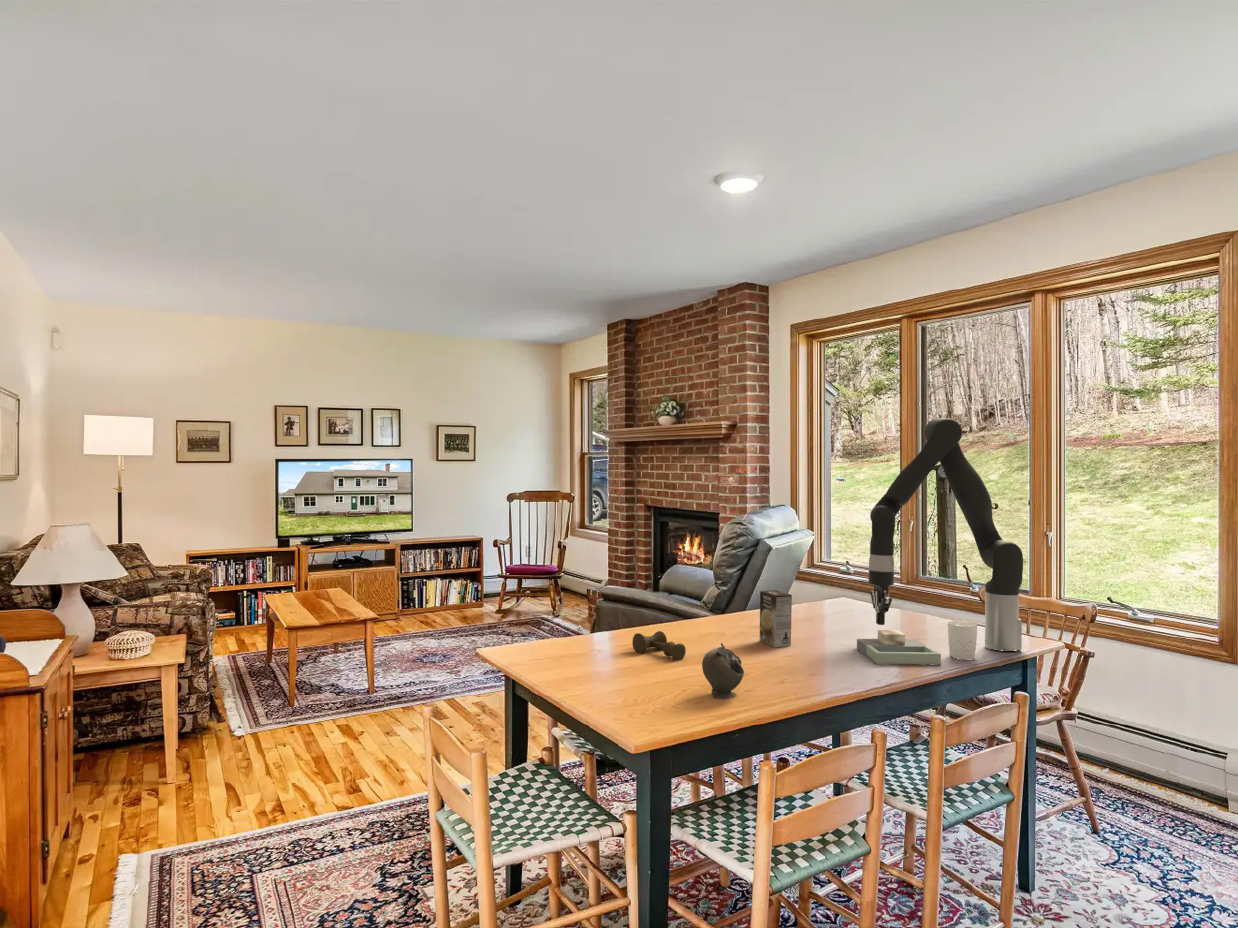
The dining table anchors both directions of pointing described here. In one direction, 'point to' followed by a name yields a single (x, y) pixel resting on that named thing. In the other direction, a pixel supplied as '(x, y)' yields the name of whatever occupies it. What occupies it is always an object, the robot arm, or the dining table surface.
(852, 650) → the dining table surface
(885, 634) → the pale wooden block
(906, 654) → the box
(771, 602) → the coffee box
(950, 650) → the white cup
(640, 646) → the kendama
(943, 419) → the robot arm
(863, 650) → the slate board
